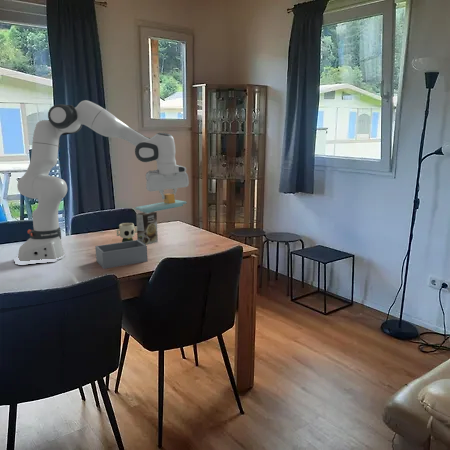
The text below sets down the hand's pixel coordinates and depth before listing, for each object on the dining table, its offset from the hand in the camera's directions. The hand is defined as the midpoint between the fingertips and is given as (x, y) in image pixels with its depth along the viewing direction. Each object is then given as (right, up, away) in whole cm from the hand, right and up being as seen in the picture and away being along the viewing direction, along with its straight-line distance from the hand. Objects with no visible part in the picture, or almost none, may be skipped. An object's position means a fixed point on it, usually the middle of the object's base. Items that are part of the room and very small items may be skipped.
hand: (168, 198), depth 207 cm
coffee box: (-14, -22, +27) cm, 37 cm away
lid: (-3, -5, -2) cm, 6 cm away
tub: (-20, -30, -6) cm, 37 cm away
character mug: (-22, -25, +14) cm, 36 cm away
